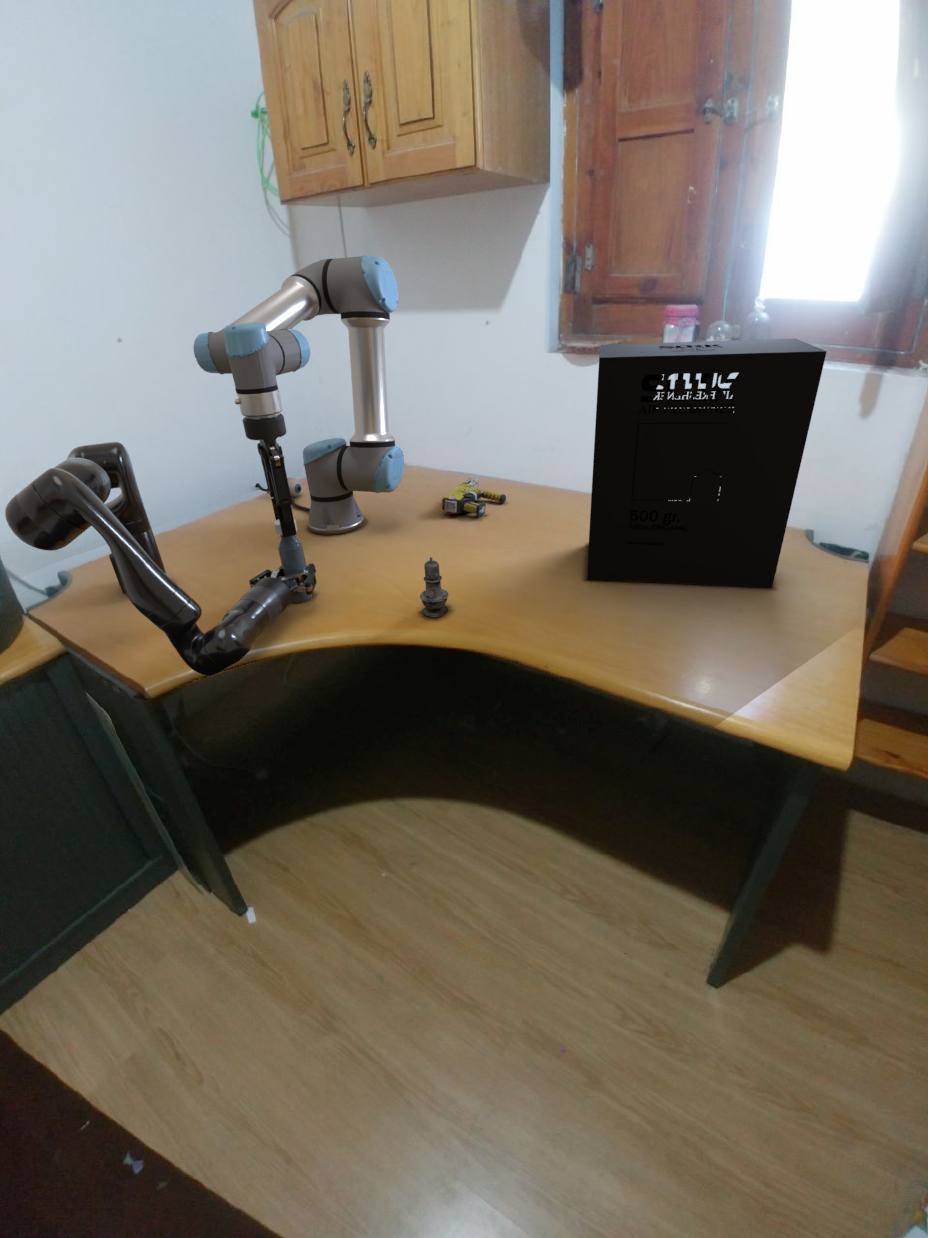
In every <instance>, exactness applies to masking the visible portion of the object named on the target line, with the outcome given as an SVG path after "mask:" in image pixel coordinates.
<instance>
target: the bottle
mask: <svg viewBox="0 0 928 1238" xmlns="http://www.w3.org/2000/svg"><path fill="white" fill-rule="evenodd" d="M279 536H280V538H279V542H278V543H277V550H278V555H279V560H280V563H281V564H280V565H281V566H282V569H283V573H284V577H288V576H289V575H291V574H293V573H295V572H296V573H300V572H301V571H303V570H304V569H305V568H306V567H307V566H308V564H307V562H306V557H305V551H304V546H303V542H302V541H301V540H300V539H299V537H298V536H297V535H294V536H289V537H283V535H279ZM302 580H304V577H303V576H302ZM312 598H313V593H312V594H311V595H307V594H306V592H299V593H298V594H297V595H295V596H293V597H292V599H291V602H292V603H304V602H306V601H309V600H310V599H312Z"/></svg>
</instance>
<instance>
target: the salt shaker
mask: <svg viewBox="0 0 928 1238" xmlns="http://www.w3.org/2000/svg"><path fill="white" fill-rule="evenodd" d="M423 567H424V577H423V581H424V582H425V590H424V591H422V592H421V593H420V594H419V599H420V600H421V603H422V605H423V606H424V608H422V614H423V615H424V616H426V617H429V618H438V617H442V616H444V615H446V614H448V612H449V607H448V606H447V605H446V603H447V602H448V598H449V595H450V594H449V592H448V591H447V590H445V589H443V588H442V582H441V581H442V579H443V577H442V575H441V574H440V564H439V562H438V561H437V560H434V559H433V557H432V556H430V557H429V559H428V561H426V562H425V563H424V566H423Z"/></svg>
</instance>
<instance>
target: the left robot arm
mask: <svg viewBox="0 0 928 1238" xmlns="http://www.w3.org/2000/svg"><path fill="white" fill-rule="evenodd" d="M114 489H120V494H118V496H117V497H115V498H114V499H112V500H110V501H108V502H106V501H107V500H108V498H109V497H110V494H111V491H112V490H114ZM4 516H5V521H6V523H7V525H8V527H9V528H10V530H11V532H12V533H13V534H14V535H15V537H17V538H18V539H20V541H22V542H23V543H25V544H26V545H28V546H29V547H33V548H35V549H38V550H41V551H49V552H50V551H58V550H61V549H64V548H65V547H67V546H68V545H70V544H71V543H72V542H73V541H75V540H76V539H77V538H78V537H80V536H81V535H82V534H83V533H84V532H86V531H87V530H88V529H89V528H90V527H92V528H94V530H95V531H96V532H97V533H98V534H99V536H101V537H102V539H103V540H104V541H105V543H106V545H107V546H108V548H109V551H110V554H109V555H108V558H109V561H110V563H111V566H112V569H113V571H114V574H115V576H116V579H117V582H118V584H119V587H120V589H121V592H122V594H125V595H126V596H127V598H128V599H129V601H130V603H131V605H133V606H134V608H135V609H136V610H137V611H138V612H139V613H140V614H142V615H143V616H144V617H145V618H146V619H148V620H149V621H150V622H151V623H152V624H153V625H154V626H155V627H157V629H159V630H160V631H161V632H163V633H164V635H165V636H166V637H167V639H168V640H169V642H170V644H171V645H172V646H173V648H174V650H175V651H176V652H177V653H178V655H179V657H180V658H181V659H182V660H183V662H184V663H185V664H186V666H187V667H189V668H190V669H191V670H192V671H194V672H196V673H198V674H200V675H203V676H214V675H217V674H219V673H220V672H222V671H224V670H226V669H227V668H230V667H231V666H233V665H235V664H237V663H239V662H240V661H241V660H242V659H243V658H245V657H246V655H248V654H249V652H250V651H251V650H252V647H254V644H255V642H256V640H257V638H258V637H259V636H260V635H262V633H263V632H264V631H265V630H266V629H267V628H268V627H269V626H271V625H272V624H273V623H274V622H275V621H277V619H278V618H279V617H280V616H281V615H282V614H283V613H284V612H285V610H286V609H287V608H288V607H289V606H290V604H291V602H292V601H291V599H292V597H293V596H295V595H297V594H298V593H299V592H306V594H307V595H311V594H312V595H313V593H314V590H315V588H316V586H317V583H318V582H317V576H316V573H317V570H316V569H317V568H316V565H315V564H314V563H309V564H307V567H306V568H305V569H304V570H303V571H301V572H300V573H296V572H295V573H293V574H291V575H289V576H288V577H284V573H283V569H282V565H281V566H279V567H278V568H274V569H273V570H271V569H265V570H263V571H261V572H260V573H259V574H257V575H255V576H254V577H252V578H250V579H248V583H249V590H247V591H246V592H245V593H244V594H243V595H242V596H241V597H240V599H239V600H238V601H237V602H236V603H235V604H234V605H233V606H232V607H231V608H230V609H228V610H227V612H226V613H225V614H224V615H223V617H222V619H221V621H220V622H219V623H217V625H215V626H213V627H212V628H210V629H209V630H207V631H205V632H203V631H202V630H201V628H200V627H199V625H198V624H197V622H198V621H199V620H200V618H201V616H202V613H203V609H202V607H201V606H200V605H199V604H198V603H197V601H196V600H195V599H194V598H193V597H192V596H190V595H189V594H188V592H186V591H185V590H183V588H182V587H180V586H179V584H177V583H176V582H175V581H174V580H173V579H172V578H170V577H169V574H168V571H167V570H166V568H165V566H164V562H163V559H162V556H161V553H160V550H159V547H158V543H157V540H156V537H155V535H154V532H153V529H152V525H151V523H150V520H149V517H148V513H147V511H146V508H145V505H144V502H143V499H142V496H141V493H140V490H139V486H138V483H137V479H136V475H135V470H134V466H133V464H132V460H131V457H130V454H129V452H128V450H127V448H126V446H125V445H124V444H122V442H119V441H110V442H100V443H92V444H86V445H80V446H77V447H75V448H73V449H72V450H71V451H69V453H68V455H67V457H66V459H65V460H63V461H61V462H60V463H58V464H57V465H55V466H54V467H51V468H48V469H47V470H45V471H44V472H42V473H41V474H40V475H38V477H36V478H35V479H34V480H33V481H31V482H30V483H29V484H28V485H26V486H25V487H24V488H23V489H22V490H21V491H19V492H18V493H16V494H15V495H13V497H12V498H11V499H10V500H9V501H8V503H7V504H6V507H5V509H4ZM302 576H303V577H304V580H302Z"/></svg>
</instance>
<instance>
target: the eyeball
mask: <svg viewBox="0 0 928 1238" xmlns="http://www.w3.org/2000/svg"><path fill="white" fill-rule="evenodd" d="M287 480H288V485H289V490H290V495H291V496H292V497H293V498H295V497H297V496H299V495H300V494H301V493H302V488H303V487H302V483H301V481H300V480H299V479H298V478H295V477H287Z"/></svg>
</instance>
